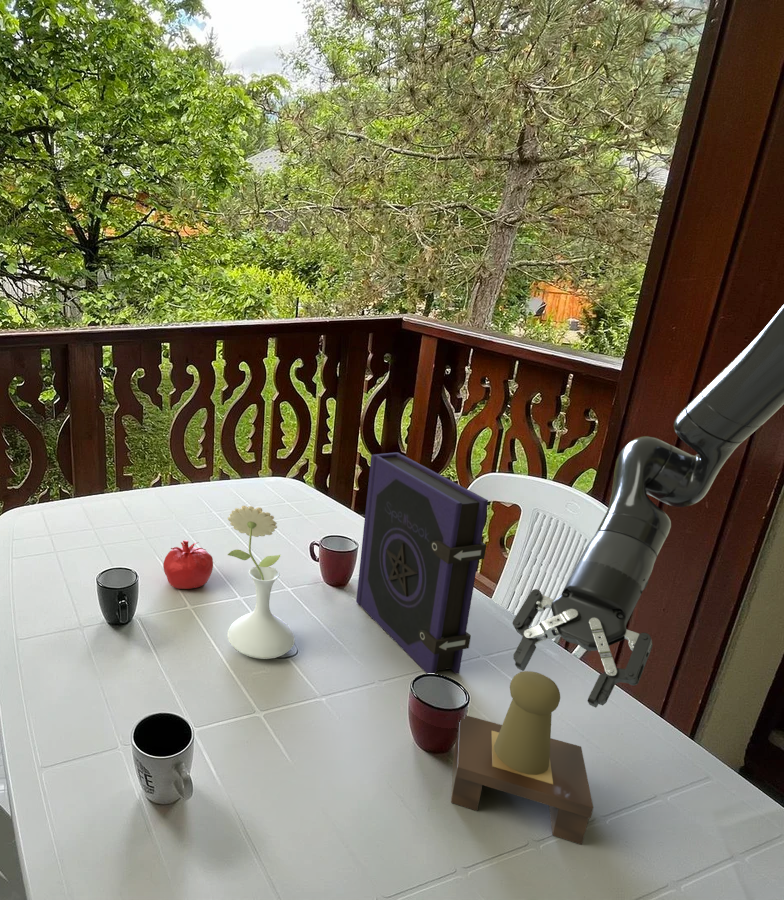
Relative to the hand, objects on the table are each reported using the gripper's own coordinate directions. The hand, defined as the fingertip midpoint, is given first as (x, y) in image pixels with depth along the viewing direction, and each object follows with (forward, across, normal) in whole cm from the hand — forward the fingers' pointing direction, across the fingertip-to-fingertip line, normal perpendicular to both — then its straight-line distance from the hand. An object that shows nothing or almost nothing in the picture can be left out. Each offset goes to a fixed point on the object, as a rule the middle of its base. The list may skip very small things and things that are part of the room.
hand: (554, 685), depth 78 cm
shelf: (+14, 0, +6) cm, 15 cm away
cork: (+9, 0, +2) cm, 10 cm away
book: (0, -28, +19) cm, 34 cm away
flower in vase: (+16, -42, +4) cm, 46 cm away
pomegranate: (+14, -66, +6) cm, 68 cm away
